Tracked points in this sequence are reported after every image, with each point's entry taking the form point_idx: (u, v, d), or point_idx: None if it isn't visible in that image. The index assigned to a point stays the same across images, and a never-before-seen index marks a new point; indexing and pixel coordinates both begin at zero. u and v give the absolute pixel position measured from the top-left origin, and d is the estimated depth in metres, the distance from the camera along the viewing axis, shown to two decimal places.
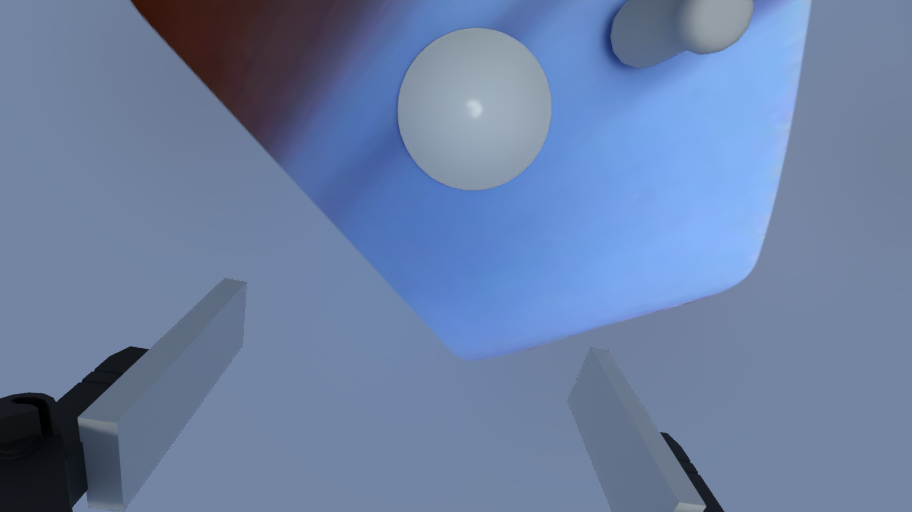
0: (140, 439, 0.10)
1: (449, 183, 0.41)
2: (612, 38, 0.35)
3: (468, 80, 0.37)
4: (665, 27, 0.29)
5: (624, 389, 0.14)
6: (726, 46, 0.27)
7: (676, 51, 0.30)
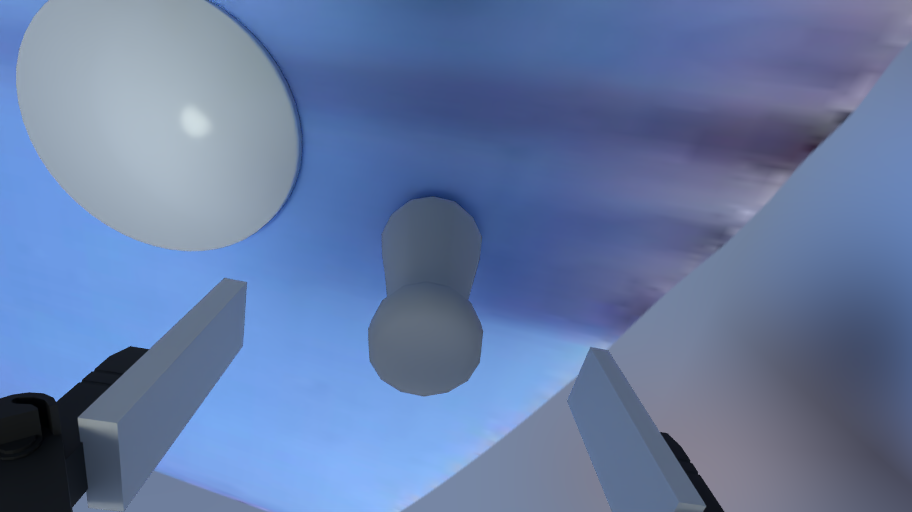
0: (140, 439, 0.10)
1: (56, 174, 0.23)
2: (389, 218, 0.24)
3: (184, 83, 0.22)
4: (395, 283, 0.18)
5: (624, 389, 0.14)
6: (403, 391, 0.16)
7: None
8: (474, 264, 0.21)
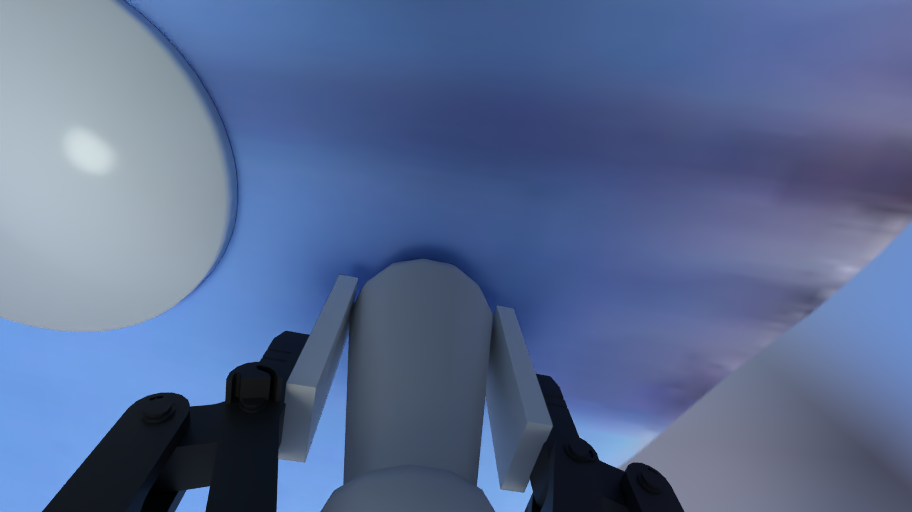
0: (317, 403, 0.12)
1: None
2: (361, 291, 0.16)
3: (49, 99, 0.14)
4: (359, 435, 0.11)
5: (515, 338, 0.16)
6: None
7: None
8: (485, 373, 0.14)
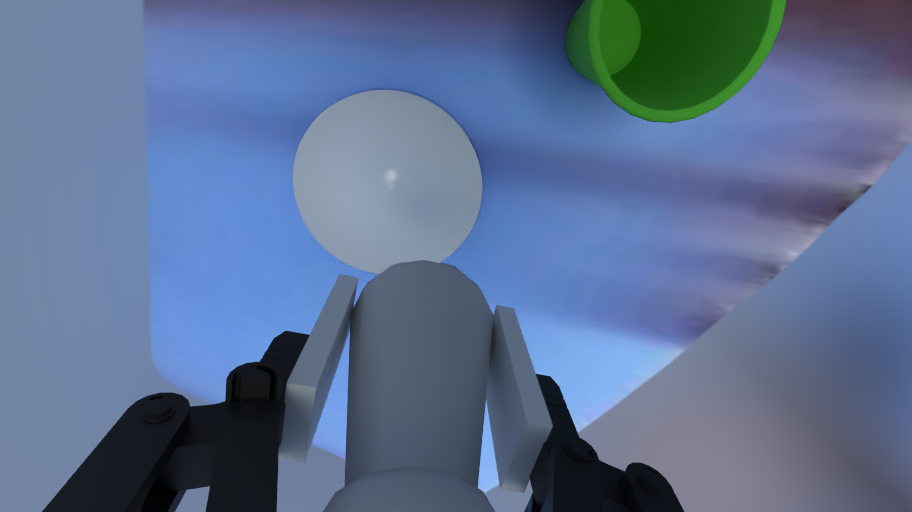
0: (317, 403, 0.12)
1: (306, 219, 0.32)
2: (362, 292, 0.16)
3: (412, 159, 0.31)
4: (360, 436, 0.11)
5: (515, 338, 0.16)
6: None
7: None
8: (486, 374, 0.14)
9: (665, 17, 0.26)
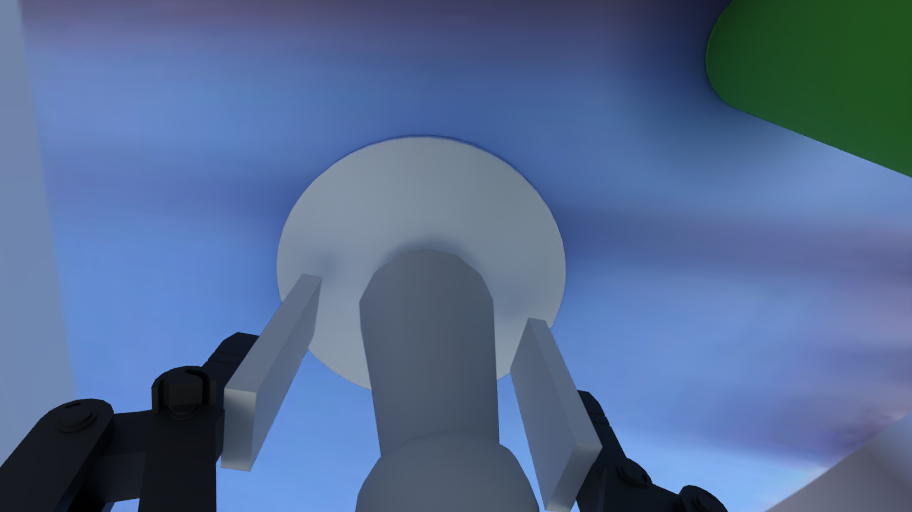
0: (263, 409, 0.11)
1: None
2: (370, 281, 0.17)
3: (460, 240, 0.20)
4: (390, 410, 0.12)
5: (551, 352, 0.15)
6: None
7: None
8: (494, 352, 0.15)
9: None
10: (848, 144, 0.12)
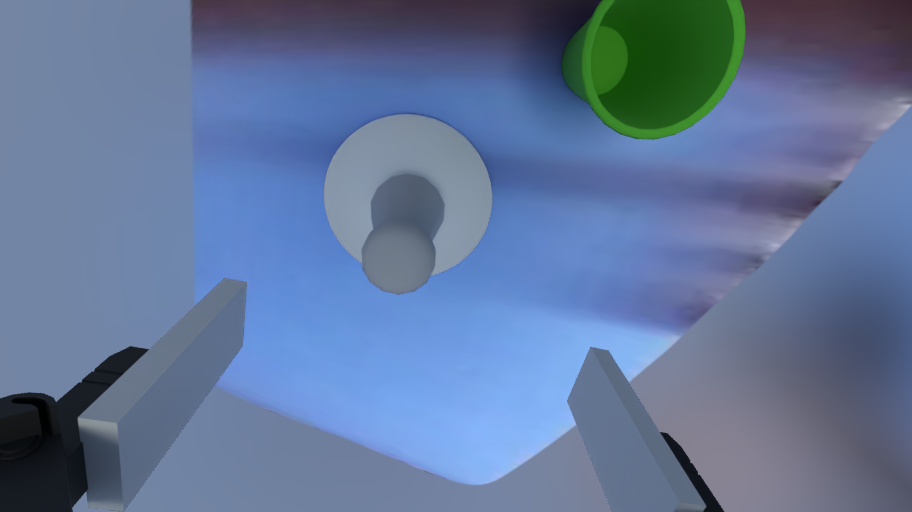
0: (140, 439, 0.10)
1: (336, 230, 0.36)
2: None
3: (429, 174, 0.35)
4: None
5: (624, 389, 0.14)
6: (384, 290, 0.24)
7: None
8: (436, 218, 0.30)
9: (647, 44, 0.30)
10: None
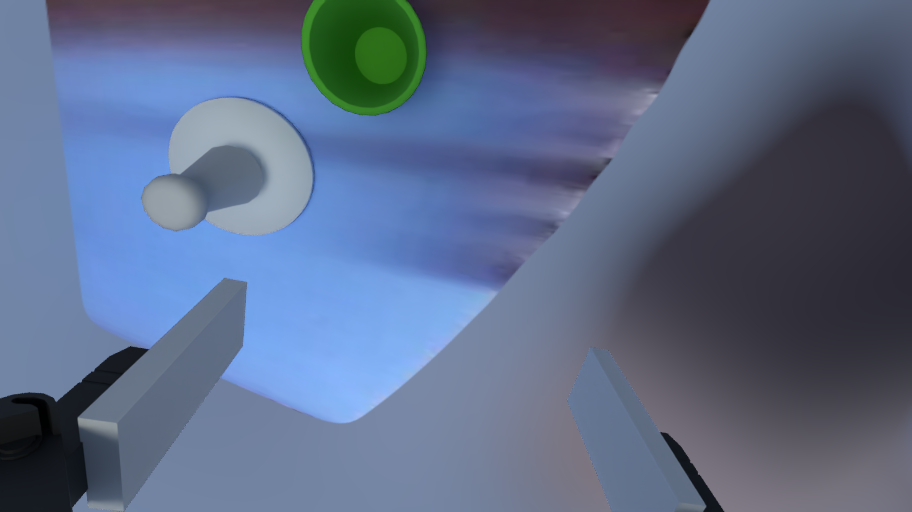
0: (140, 439, 0.10)
1: None
2: None
3: (254, 147, 0.42)
4: None
5: (624, 389, 0.14)
6: (163, 227, 0.32)
7: None
8: (236, 179, 0.37)
9: (406, 42, 0.37)
10: None
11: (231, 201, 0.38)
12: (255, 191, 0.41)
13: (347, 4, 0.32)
